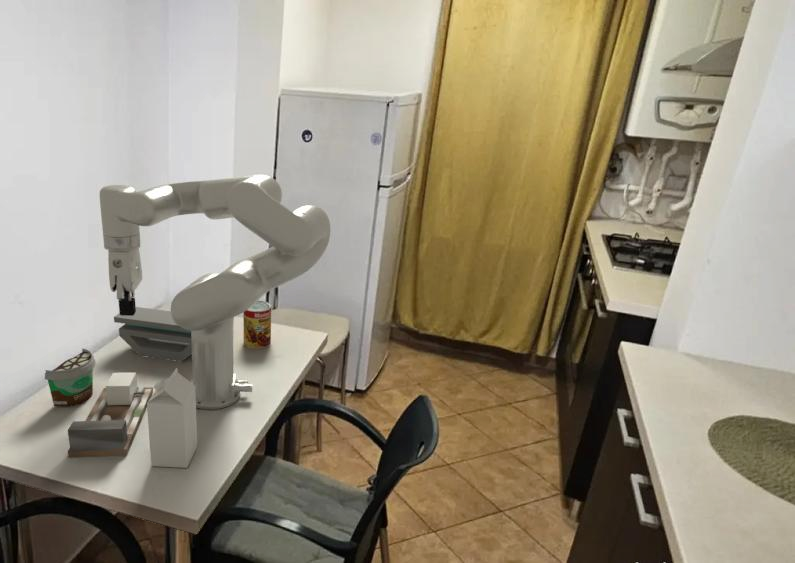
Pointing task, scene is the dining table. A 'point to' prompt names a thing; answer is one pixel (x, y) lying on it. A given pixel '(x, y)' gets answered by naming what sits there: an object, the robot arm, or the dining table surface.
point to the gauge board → (108, 427)
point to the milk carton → (172, 422)
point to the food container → (72, 380)
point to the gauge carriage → (121, 389)
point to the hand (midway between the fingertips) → (127, 313)
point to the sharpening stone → (155, 334)
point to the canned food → (257, 325)
